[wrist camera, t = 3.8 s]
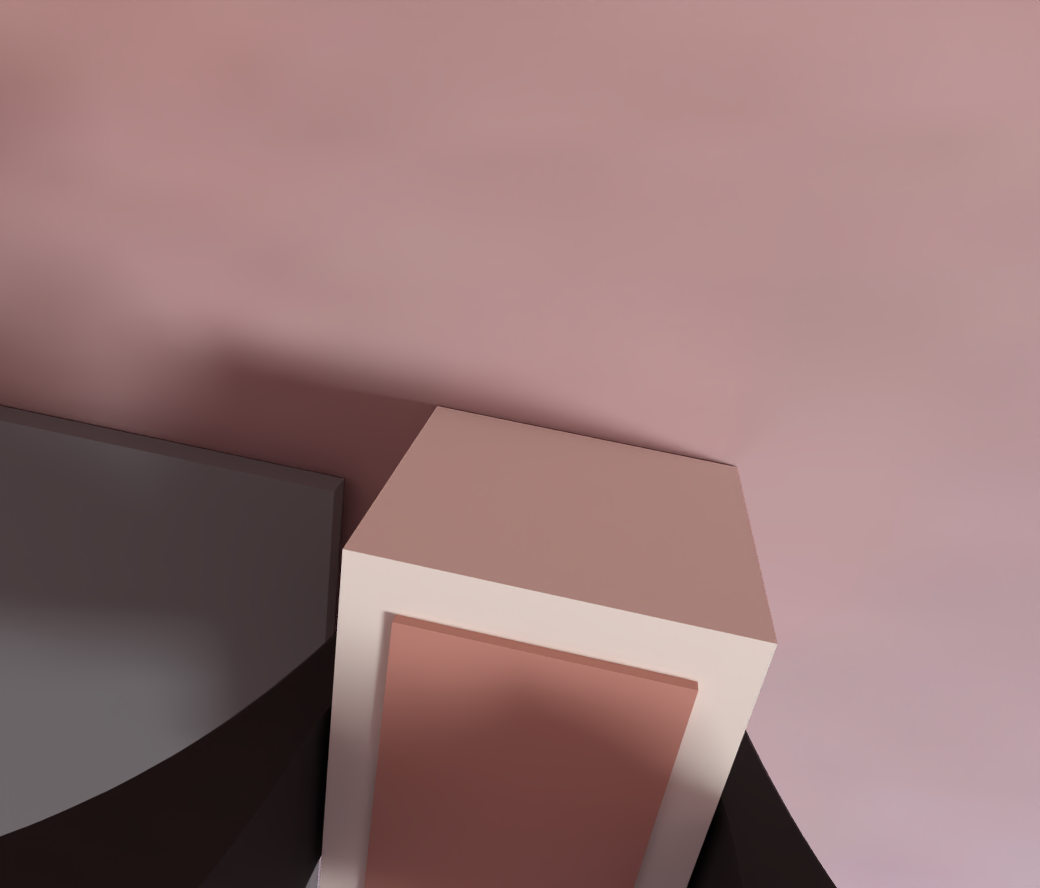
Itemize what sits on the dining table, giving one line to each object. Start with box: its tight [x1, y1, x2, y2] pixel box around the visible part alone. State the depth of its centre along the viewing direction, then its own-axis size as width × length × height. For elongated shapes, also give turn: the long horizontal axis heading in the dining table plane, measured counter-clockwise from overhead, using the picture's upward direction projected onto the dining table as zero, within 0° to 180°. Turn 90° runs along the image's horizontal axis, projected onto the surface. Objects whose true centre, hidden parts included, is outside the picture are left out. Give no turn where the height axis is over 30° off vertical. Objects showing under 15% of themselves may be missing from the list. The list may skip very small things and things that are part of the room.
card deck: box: [319, 406, 777, 888], centre depth 13 cm, size 8×5×5 cm, turn 171°
